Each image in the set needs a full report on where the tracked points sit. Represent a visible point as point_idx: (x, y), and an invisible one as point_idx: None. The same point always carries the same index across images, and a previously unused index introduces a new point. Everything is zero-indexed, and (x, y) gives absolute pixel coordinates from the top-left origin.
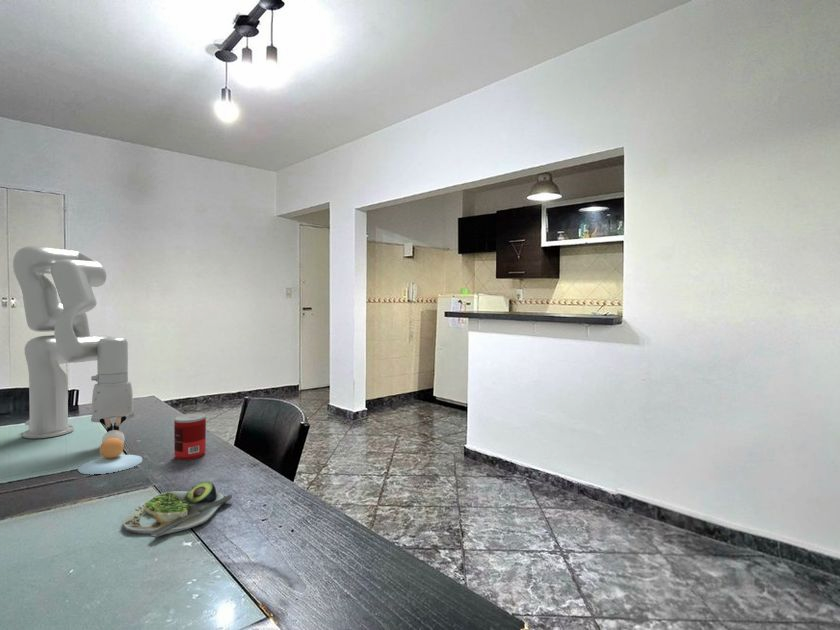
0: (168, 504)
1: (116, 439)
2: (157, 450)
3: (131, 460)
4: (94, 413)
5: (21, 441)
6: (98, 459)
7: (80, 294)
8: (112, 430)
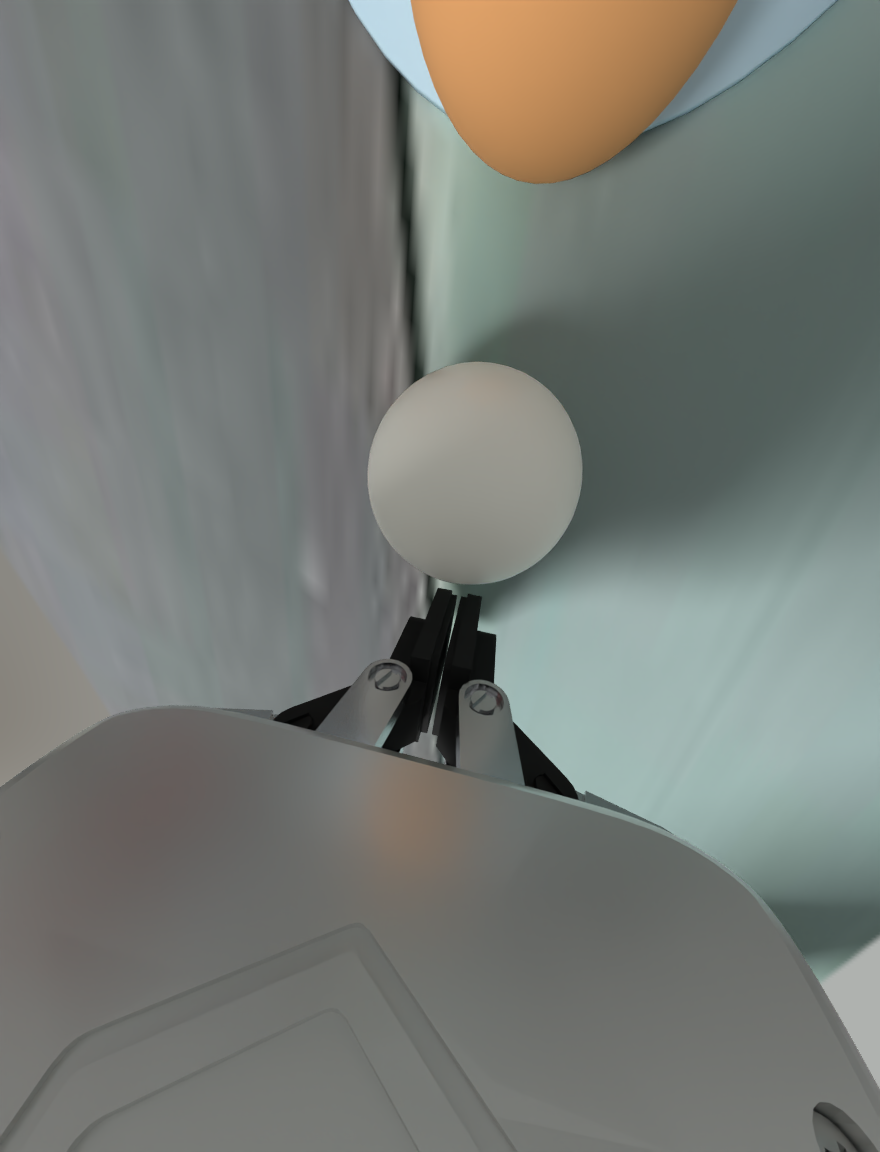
0: None
1: None
2: (140, 105)
3: None
4: (823, 1034)
5: (808, 928)
6: (711, 49)
7: None
8: (469, 507)
